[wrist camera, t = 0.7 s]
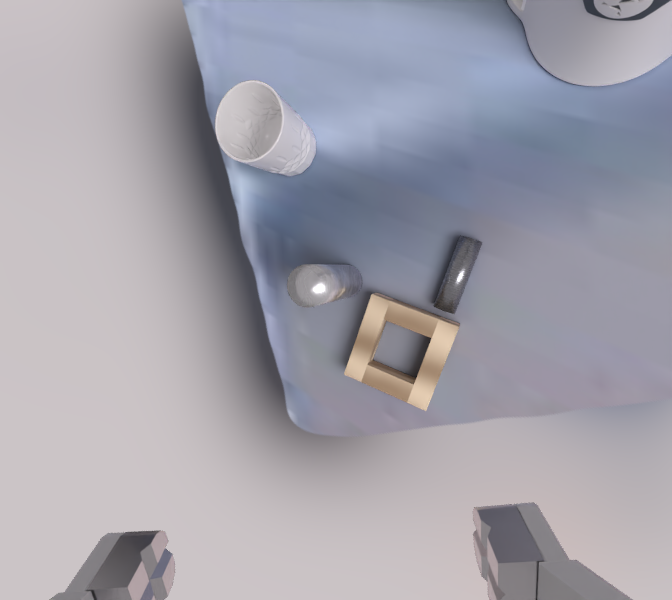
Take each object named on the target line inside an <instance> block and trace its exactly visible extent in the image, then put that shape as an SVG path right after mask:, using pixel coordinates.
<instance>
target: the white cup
mask: <svg viewBox="0 0 672 600" xmlns="http://www.w3.org/2000/svg"><path fill="white" fill-rule="evenodd" d="M215 132H216V137H217V140H218V143H219V145H220V147H221V148H222V150H223V151H224V152H225V153H226V154H227V155H228V156H229V157H230V158H232V159H234V160H236V161H239V162H242V163H245V164H248V165H250V166H253V167H256V168H259V169H262V170H265V171H269V172H272V173H277V174H281V175H285V176H289V177H291V176H294V175H298V174H301V173H302V172H303V171H305V170H306V169H307V168H308V167H309V166H310V165H311V163H312V161H313V158H314V156H315V154H316V139H315V137H314V134H313V132H312V129H311V128H310V127H309V126H308V125H307V124H306V123H305V122H304V121H303V120H302V118H301V117H300V116H299V115H298V114H297V113H296V111H295V110H294V109H293V108H292V107H291V106H290V105H289V104H288V103H287V102H286V101H285V100H284V99H283V98H282V97H281V96H280V95H279V94H278V93H277V92H276V91H275V90H274V89H273V88H272V87H270V86H269V85H268V84H266V83H264V82H261V81H257V80H248V81H244V82H241V83H239V84H237V85H235V86H234V87H232V88H231V89H230V90H229V91H228V92H227V93H226V94H225V96H224V97H223V99H222V100H221V102H220V104H219V107H218V109H217V113H216V118H215Z"/></svg>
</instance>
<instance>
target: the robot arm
mask: <svg viewBox="0 0 672 600" xmlns="http://www.w3.org/2000/svg"><path fill="white" fill-rule="evenodd" d="M507 3H508V5H509V7H510V8H511V9H512V11H513V12H514V13H515V14H516V15H517V16H518V17H519V18H520V19H521V20H522V23H523V25H524V28H525V32H526V36H527V40H528V44H529V46H530V49H531V51H532V53H533V55H534V56H535V58H536V59H537V61H538V62H539V63H540V64H541V66H542V67H543V68H544V69H546V70H547V71H548V72H549V73H551V74H552V75H554V76H555V77H557V78H559V79H561V80H564V81H566V82H569V83H572V84H577V85H583V86H605V85H612V84H617V83H621V82H624V81H627V80H630V79H633V78H636V77H638V76H640V75H642V74H644V73H646V72H648V71H650V70H651V69H653V68H655V67H656V66H658V65H659V64H661V63H662V62H663V61H665V60H666V59H667V58H668V57H670V56H671V55H672V0H507ZM473 521H474V523H475V526H476V529H477V530H476V531H475V532H474V534H473V536H474V548H475V554H476V559H477V563H478V566H479V569H480V573H481V576H482V577H483V578H484V579H485V580H486V581H487V582H488V596H489V599H490V600H632V599H631V598H630V597H628V596H627V595H625V594H624V593H623V592H621V591H619V590H618V589H617V588H615V587H614V586H613V585H611V584H610V583H608V582H607V581H606V580H604V579H603V578H601V577H600V576H598V575H597V574H595V573H594V572H593V571H591V570H590V569H589V568H587V567H586V566H584V565H583V564H581V563H580V562H579V561H577V560H569V558H568V556H567V554H566V553H565V551H564V550H563V548H562V546H561V544H560V543H559V541H558V539H557V538H556V536H555V534H554V532H553V531H552V529H551V527H550V526H549V524H548V522H547V521H546V519H545V517H544V516H543V514H542V512H541V510H540V509H539V507H538V505H536V504H535V503H522V504H514V505H512V504H509V505H497V506H486V507H474V509H473ZM167 543H168V539H167V536H166V533H165V532H164V531H139V532H125V533H108V534H106V535H105V536H103V537H102V538H101V539H100V541H99V542H98V544H97V545H96V547H95V548H94V550H93V551H92V553H91V554H90V556H89V557H88V558H87V560H86V562H85V563H84V564H83V566H82V567H81V569H80V570H79V572H78V573H77V575H76V576H75V577H74V579H73V580H72V582H71V583H70V585H69V586H68V588H67V589H66V591H65V592H64V593H58V594H56V595H55V596H54V597H52V598H51V599H50V600H164V599H165V598H166V597H167V596H168V594H169V592H170V589H171V587H172V585H173V580H174V573H175V562H174V558H173V555H172V553H170V552H169V551H168V550H167V549H165V547H166V545H167Z"/></svg>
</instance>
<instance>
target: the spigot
mask: <svg viewBox="0 0 672 600" xmlns="http://www.w3.org/2000/svg"><path fill="white" fill-rule="evenodd" d="M361 287H362V276H361V273H360V272H359V270H358V269H357V268H356V267H354V266H352V265H331V264H305V265H300V266H298V267H296V268H295V269H294V270H293V271H292V272H291V274H290V276H289V278H288V282H287V289H288V293H289V296H290V297H291V299H292V300H293V301H294V302H295V303H296V304H297V305H299V306H301V307H306V308H309V307H314V306H318V305H322V304H326V303H330V302H334V301H337V300H341V299H345V298H349V297H353V296H355V295H356V294H357V293H358V292H359V291H360V289H361Z"/></svg>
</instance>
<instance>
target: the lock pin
mask: <svg viewBox="0 0 672 600" xmlns="http://www.w3.org/2000/svg"><path fill="white" fill-rule="evenodd" d="M481 245H482V242H480V241H477V240H474V239H471V238H468V237H464V236H460V237H459V240H458V242H457V245H456V248H455V250H454V253H453V256H452V258H451V261H450V264H449V266H448V269H447V272H446V274H445V277H444V279H443V282H442V285H441V287H440V290H439V293H438V295H437V298H436V301H435V303H434V307H436V308H438V309H440V310H443V311H446V312H449V313H453V314H455V312H456V309H457V307H458V304H459V302H460V299H461V296H462V294H463V291H464V289H465V286H466V284H467V281H468V278H469V276H470V273H471V271H472V268H473V266H474V263H475V261H476V258H477V255H478V253H479V250H480V248H481Z"/></svg>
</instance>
